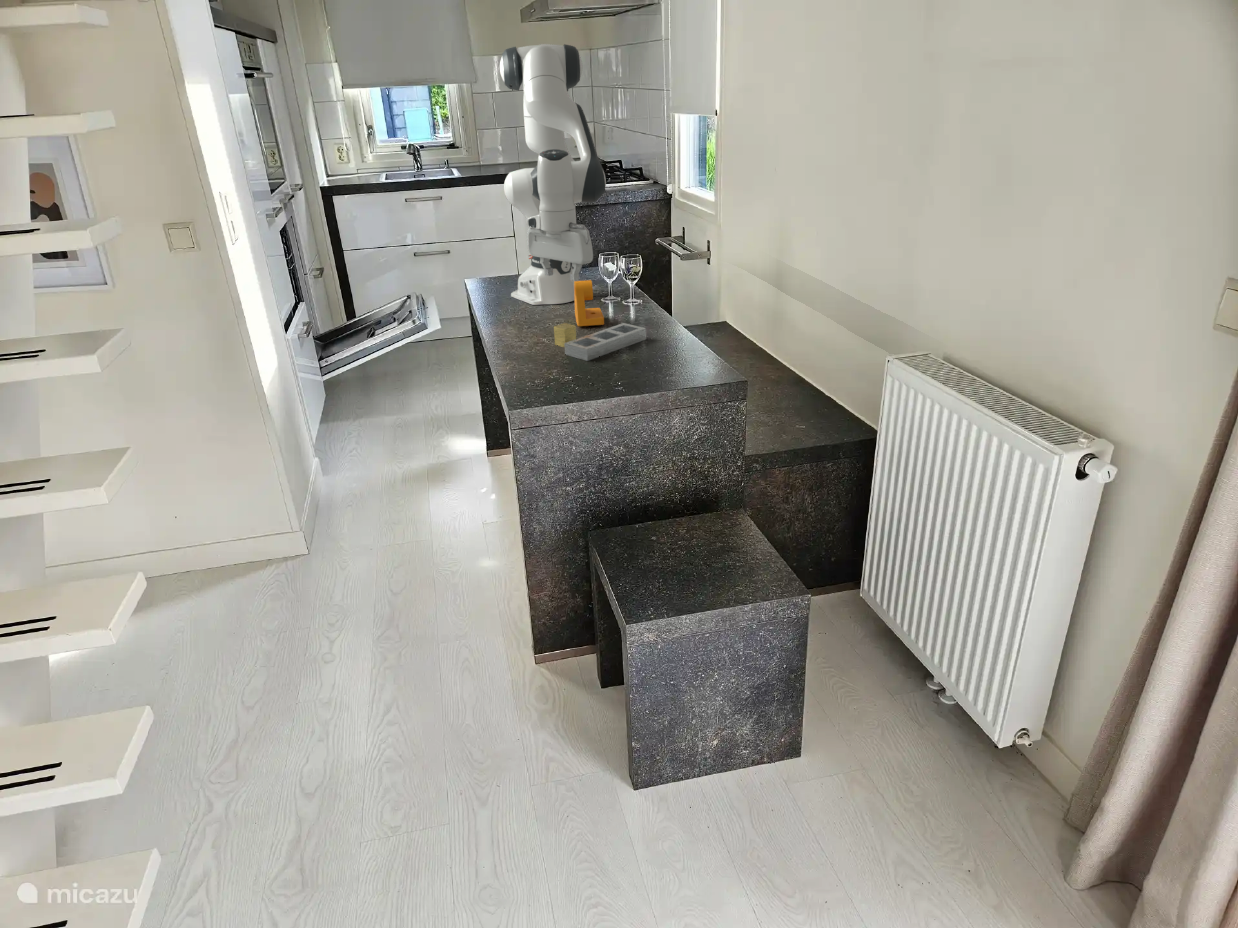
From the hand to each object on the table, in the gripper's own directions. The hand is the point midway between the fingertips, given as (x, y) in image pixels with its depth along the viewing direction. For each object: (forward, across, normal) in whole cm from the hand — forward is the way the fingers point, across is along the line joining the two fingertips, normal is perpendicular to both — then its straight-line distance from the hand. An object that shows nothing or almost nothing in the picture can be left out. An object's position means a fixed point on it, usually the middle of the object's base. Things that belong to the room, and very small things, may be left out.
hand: (561, 277), depth 205 cm
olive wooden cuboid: (+18, 0, 0) cm, 18 cm away
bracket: (+18, +9, -18) cm, 27 cm away
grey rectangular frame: (+18, -10, -5) cm, 21 cm away
